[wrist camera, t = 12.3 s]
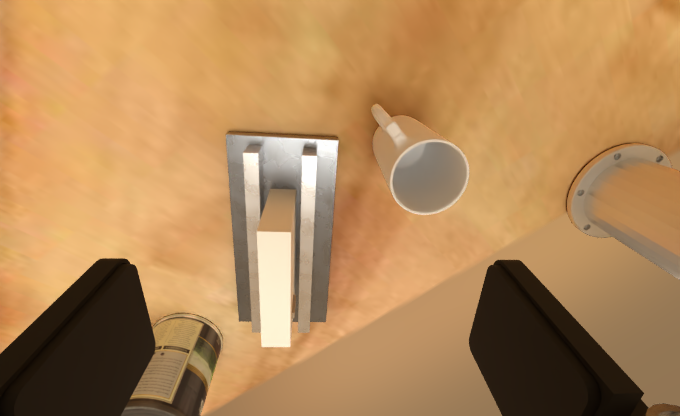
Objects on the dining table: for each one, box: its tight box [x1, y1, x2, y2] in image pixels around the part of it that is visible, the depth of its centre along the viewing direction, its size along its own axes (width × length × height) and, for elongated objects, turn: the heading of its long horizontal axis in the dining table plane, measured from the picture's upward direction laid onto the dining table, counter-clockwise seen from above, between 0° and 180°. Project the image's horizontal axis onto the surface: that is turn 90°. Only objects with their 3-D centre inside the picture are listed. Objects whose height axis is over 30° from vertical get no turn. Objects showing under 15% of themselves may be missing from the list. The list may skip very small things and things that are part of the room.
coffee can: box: [121, 313, 223, 416], centre depth 44 cm, size 10×10×14 cm
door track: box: [226, 131, 338, 333], centre depth 42 cm, size 12×26×4 cm, turn 176°
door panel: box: [257, 189, 297, 347], centre depth 38 cm, size 3×14×10 cm, turn 176°
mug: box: [371, 104, 469, 215], centre depth 34 cm, size 10×7×12 cm, turn 38°
